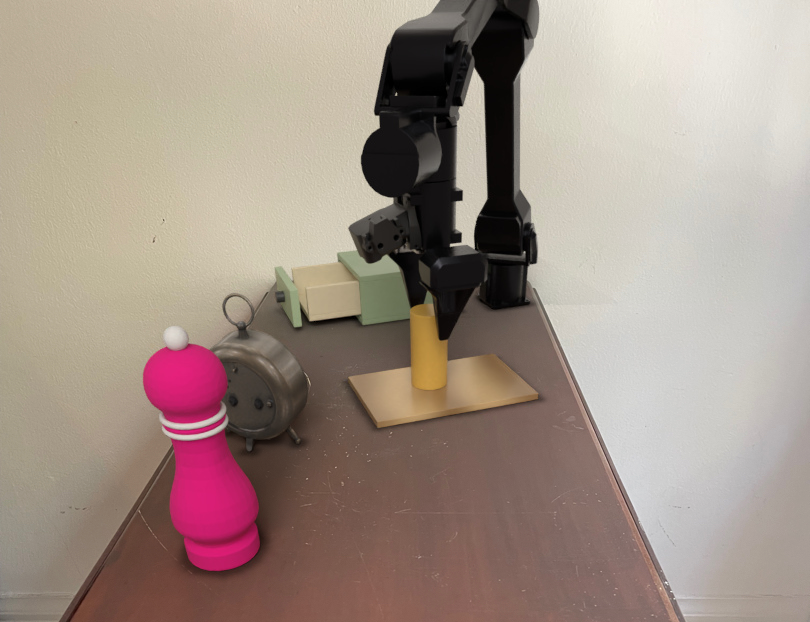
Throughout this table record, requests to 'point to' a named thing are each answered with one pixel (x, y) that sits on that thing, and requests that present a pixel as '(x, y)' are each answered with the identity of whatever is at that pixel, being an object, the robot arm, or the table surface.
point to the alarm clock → (260, 382)
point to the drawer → (318, 292)
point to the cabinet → (379, 289)
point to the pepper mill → (202, 455)
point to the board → (440, 391)
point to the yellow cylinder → (427, 350)
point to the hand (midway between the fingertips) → (429, 326)
